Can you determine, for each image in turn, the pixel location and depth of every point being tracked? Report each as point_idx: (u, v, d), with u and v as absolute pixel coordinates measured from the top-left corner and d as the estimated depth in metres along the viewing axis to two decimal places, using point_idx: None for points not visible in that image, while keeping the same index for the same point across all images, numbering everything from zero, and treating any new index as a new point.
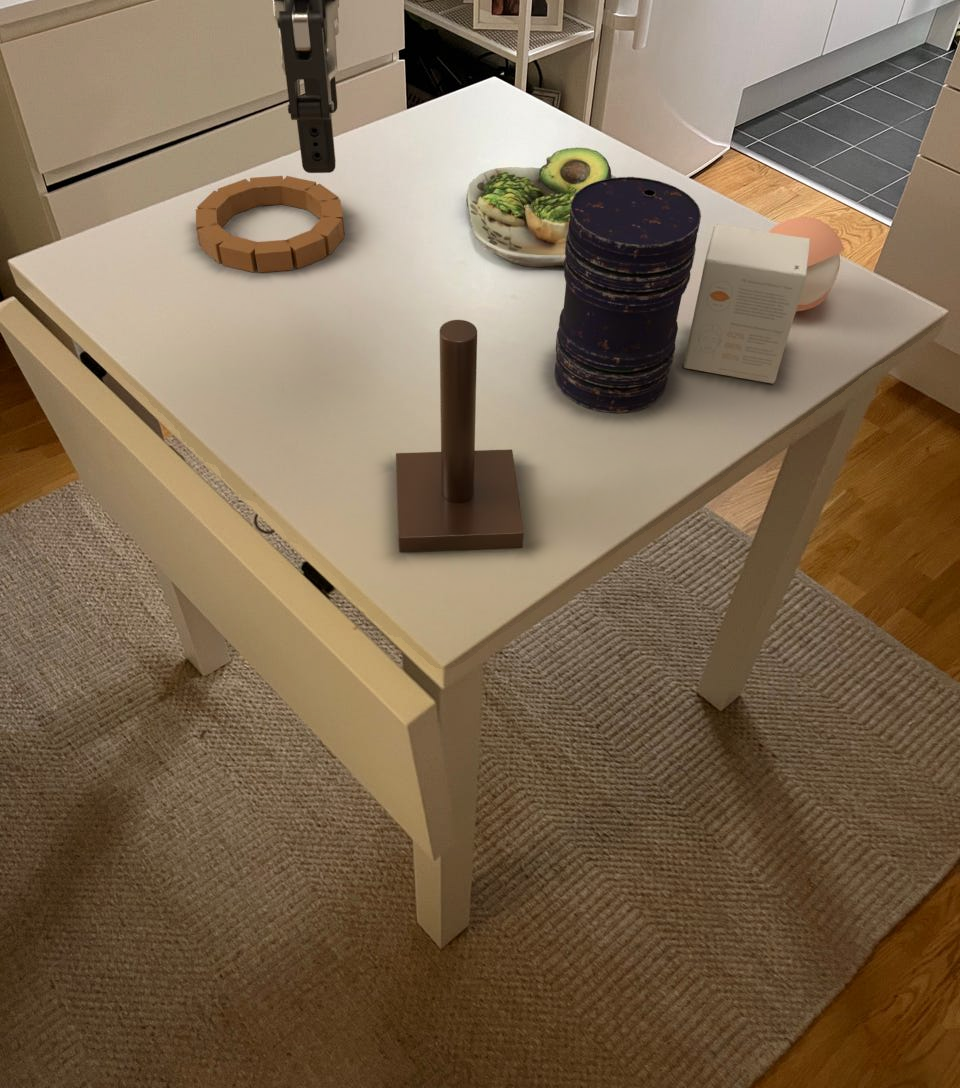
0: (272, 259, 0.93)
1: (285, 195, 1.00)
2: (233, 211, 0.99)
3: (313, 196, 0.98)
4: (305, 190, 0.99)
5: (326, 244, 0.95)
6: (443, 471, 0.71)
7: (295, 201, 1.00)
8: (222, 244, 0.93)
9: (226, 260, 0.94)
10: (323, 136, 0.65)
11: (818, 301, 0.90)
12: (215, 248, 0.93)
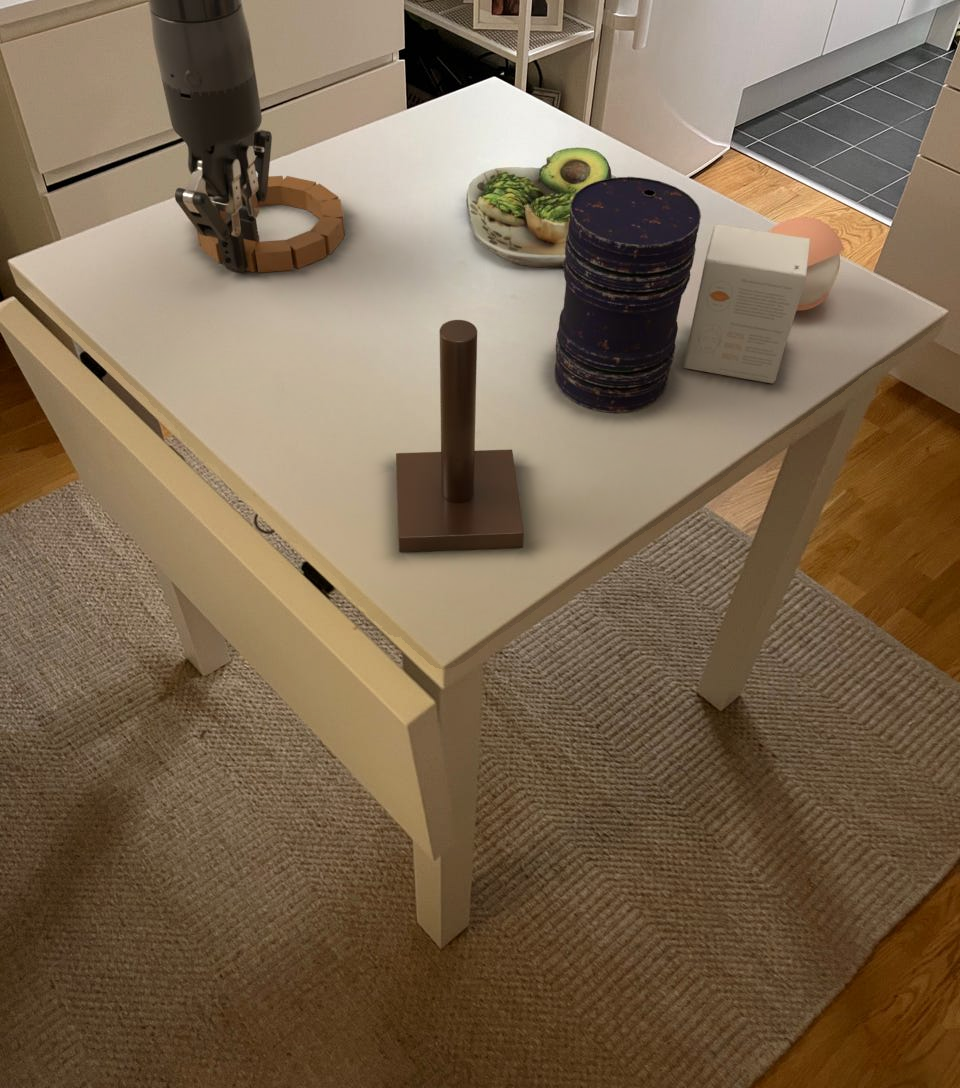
0: (272, 259, 0.93)
1: (285, 195, 1.00)
2: None
3: (313, 196, 0.98)
4: (305, 190, 0.99)
5: (326, 244, 0.95)
6: (443, 471, 0.71)
7: (295, 201, 1.00)
8: None
9: None
10: (231, 248, 0.91)
11: (818, 301, 0.90)
12: (215, 248, 0.93)
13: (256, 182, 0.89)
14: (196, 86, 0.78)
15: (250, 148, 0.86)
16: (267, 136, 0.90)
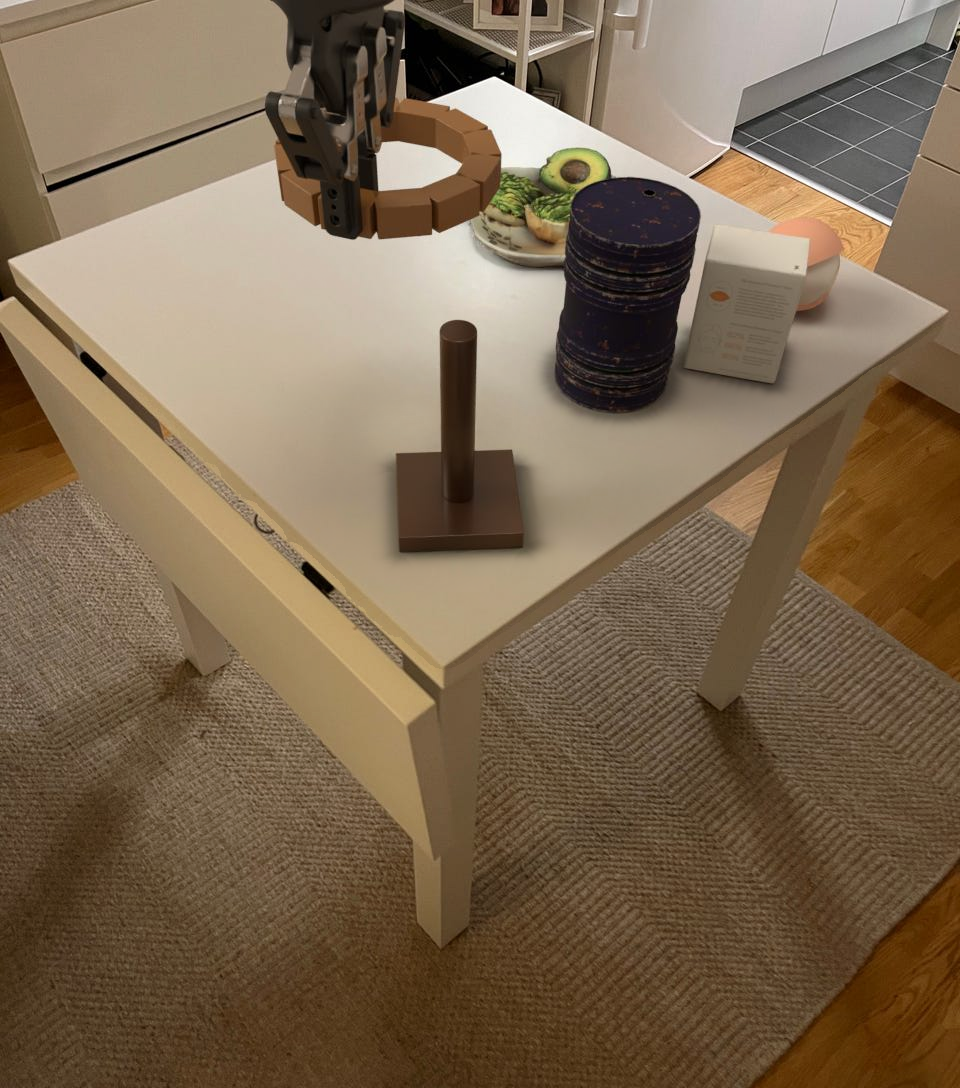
0: (401, 218, 0.59)
1: (403, 126, 0.66)
2: None
3: (450, 125, 0.65)
4: (436, 118, 0.65)
5: (480, 195, 0.61)
6: (443, 471, 0.71)
7: (418, 136, 0.67)
8: None
9: None
10: (342, 200, 0.57)
11: (818, 301, 0.90)
12: (311, 203, 0.59)
13: (384, 92, 0.56)
14: None
15: (382, 31, 0.53)
16: (399, 19, 0.56)
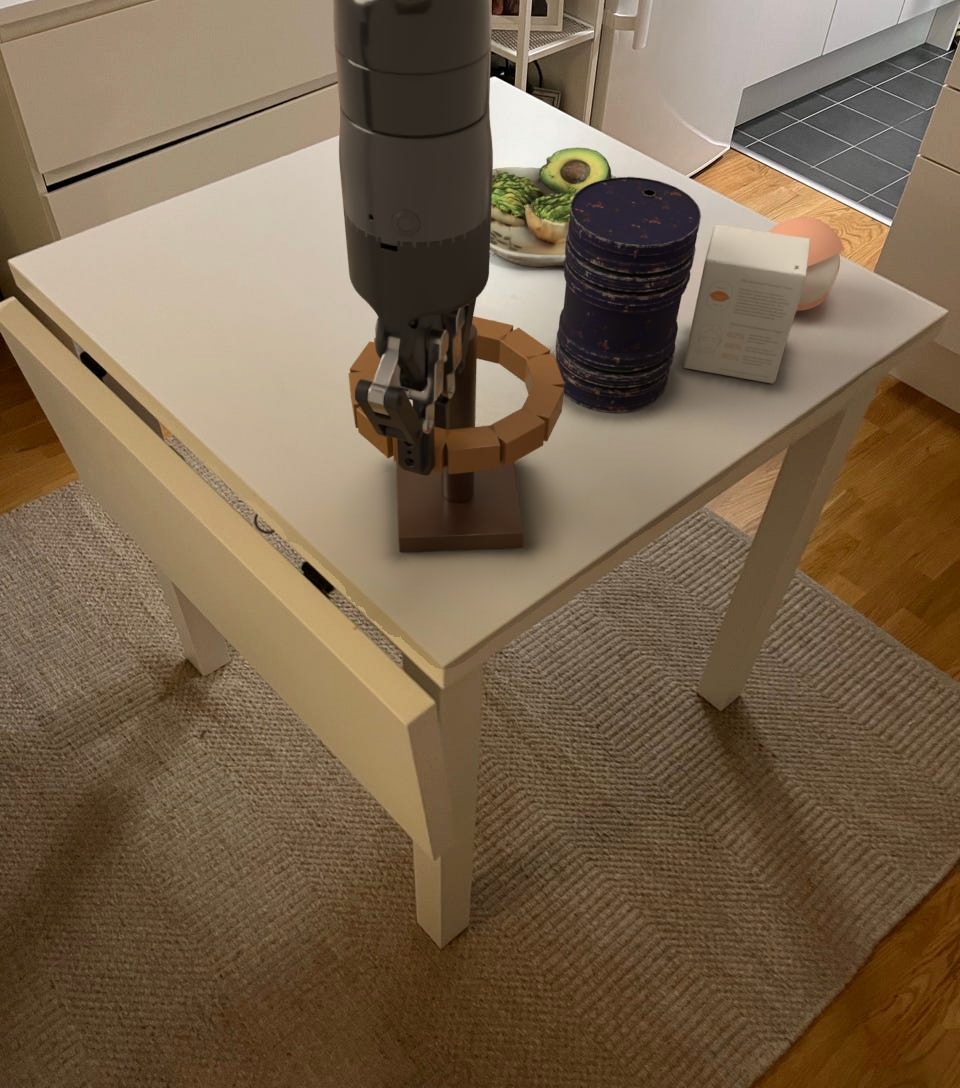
0: (471, 457, 0.62)
1: None
2: None
3: (514, 349, 0.68)
4: (500, 340, 0.69)
5: (545, 428, 0.64)
6: (443, 471, 0.71)
7: (483, 352, 0.70)
8: None
9: None
10: (417, 448, 0.60)
11: (818, 301, 0.90)
12: (385, 440, 0.63)
13: (460, 352, 0.59)
14: (410, 234, 0.48)
15: (461, 308, 0.56)
16: None
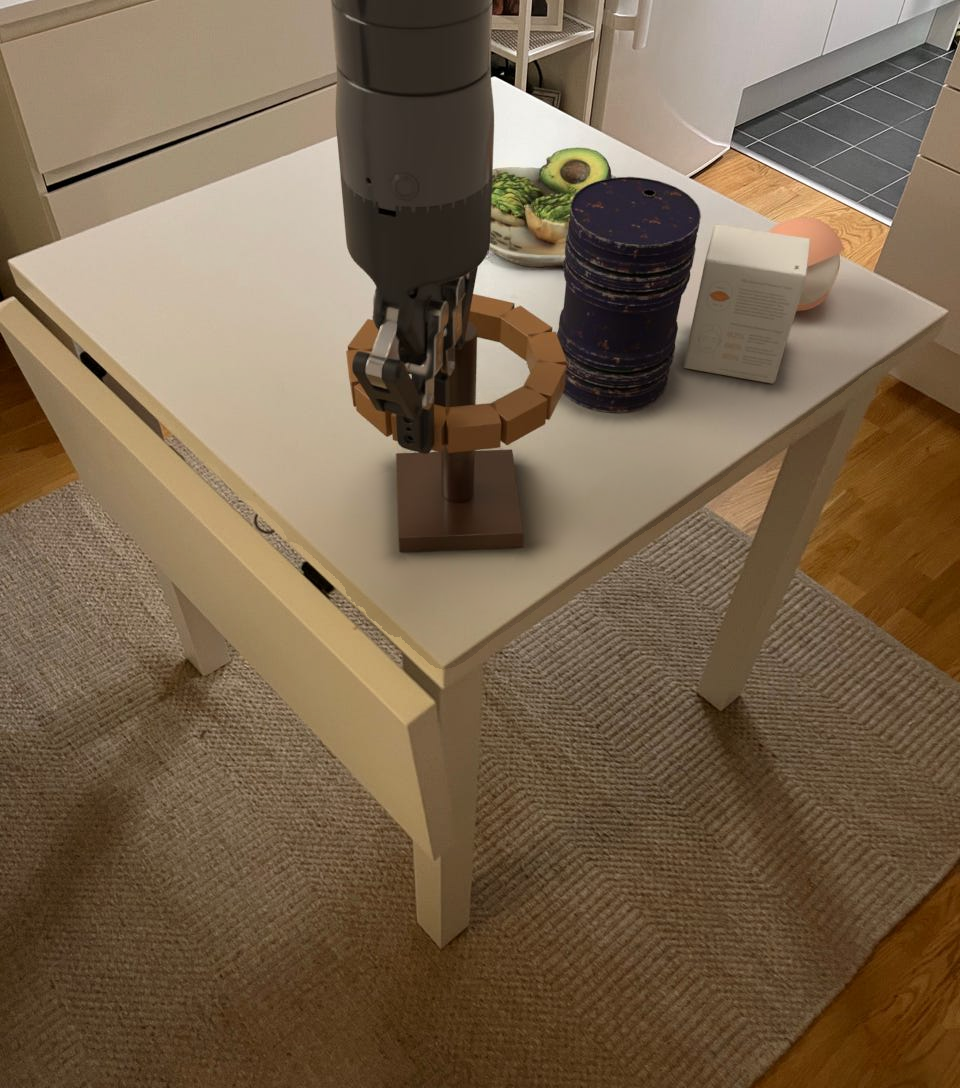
0: (472, 435, 0.61)
1: None
2: None
3: (515, 327, 0.66)
4: (501, 318, 0.67)
5: (547, 406, 0.63)
6: (443, 471, 0.71)
7: (483, 331, 0.68)
8: None
9: None
10: (417, 425, 0.59)
11: (818, 301, 0.90)
12: (384, 418, 0.61)
13: (460, 326, 0.57)
14: (409, 198, 0.46)
15: (462, 280, 0.55)
16: None
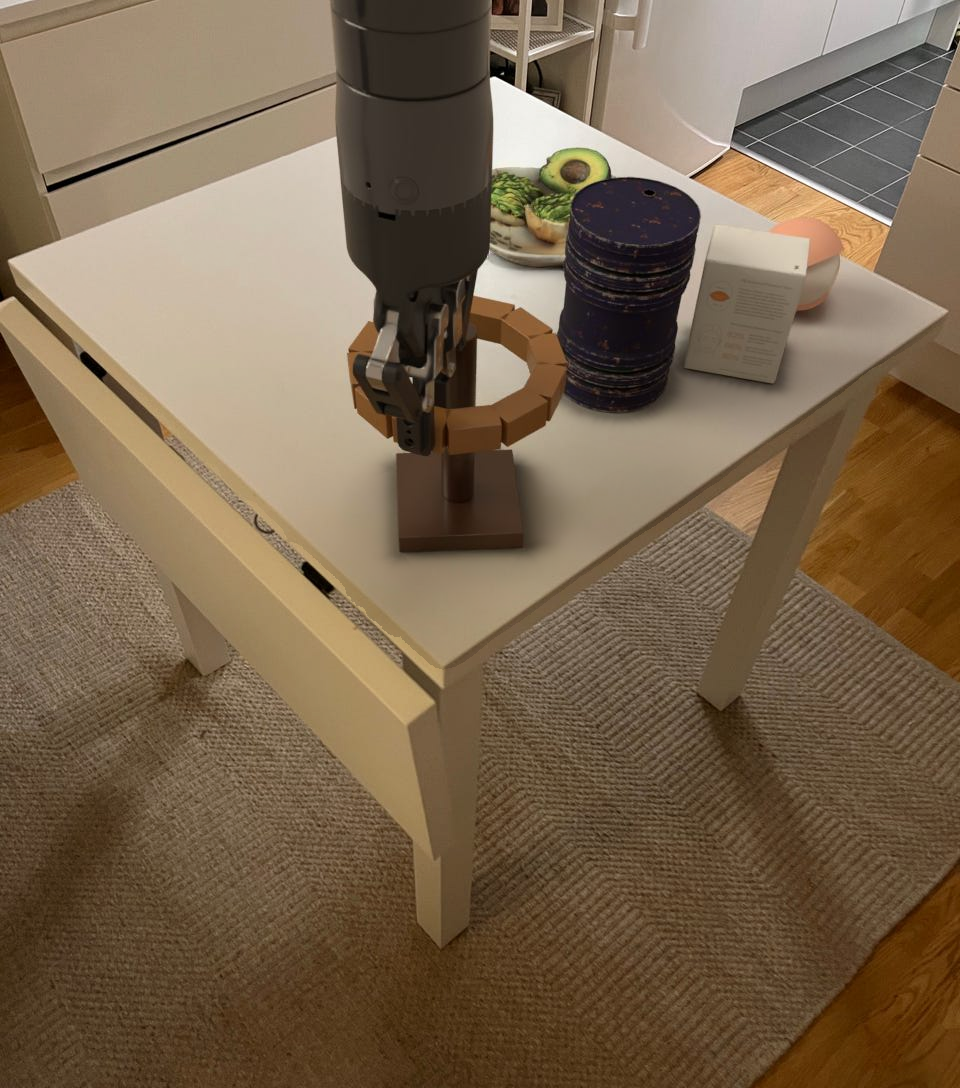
0: (472, 437, 0.61)
1: None
2: None
3: (515, 328, 0.67)
4: (502, 319, 0.67)
5: (547, 408, 0.63)
6: (443, 471, 0.71)
7: (484, 332, 0.69)
8: None
9: None
10: (417, 427, 0.59)
11: (818, 301, 0.90)
12: (384, 420, 0.61)
13: (460, 328, 0.58)
14: (408, 202, 0.46)
15: (462, 283, 0.55)
16: None
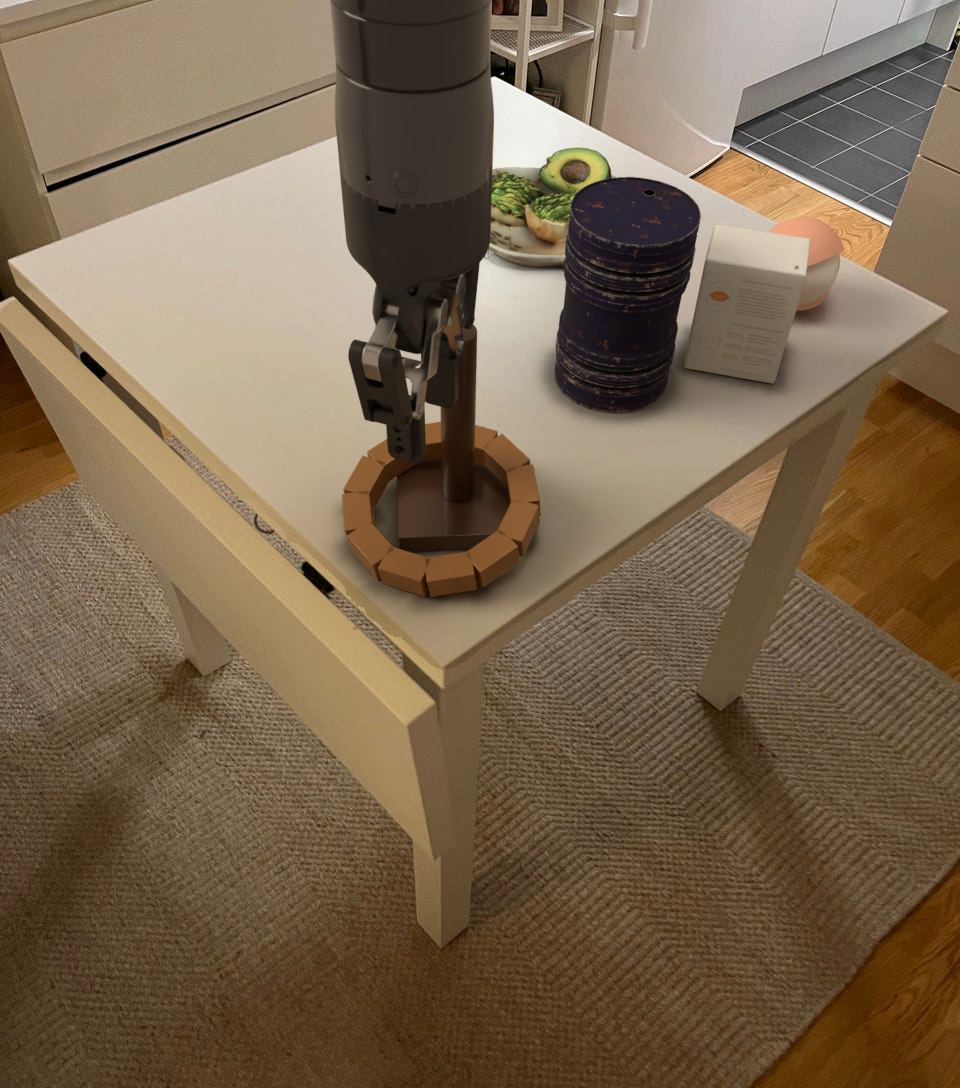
0: (449, 584, 0.68)
1: None
2: (389, 478, 0.74)
3: (495, 460, 0.72)
4: (484, 449, 0.73)
5: (519, 548, 0.69)
6: (443, 471, 0.71)
7: None
8: (382, 565, 0.69)
9: (387, 581, 0.70)
10: (407, 435, 0.58)
11: (818, 301, 0.90)
12: (372, 568, 0.69)
13: (465, 313, 0.58)
14: (408, 196, 0.46)
15: (462, 278, 0.54)
16: None
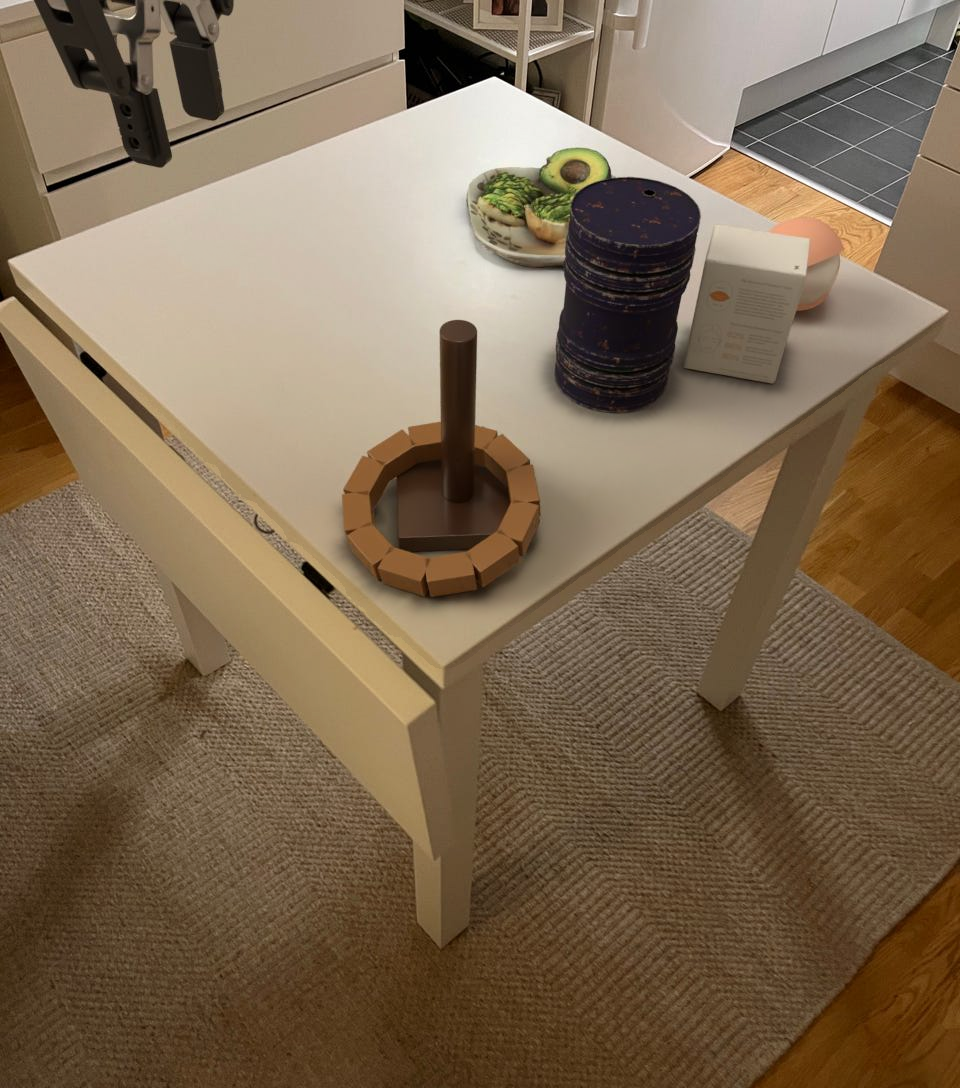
0: (449, 584, 0.68)
1: None
2: (389, 478, 0.74)
3: (495, 460, 0.72)
4: (484, 449, 0.73)
5: (519, 548, 0.69)
6: (443, 471, 0.71)
7: None
8: (382, 565, 0.69)
9: (387, 581, 0.70)
10: (137, 118, 0.49)
11: (818, 301, 0.90)
12: (372, 568, 0.69)
13: None
14: None
15: None
16: None
